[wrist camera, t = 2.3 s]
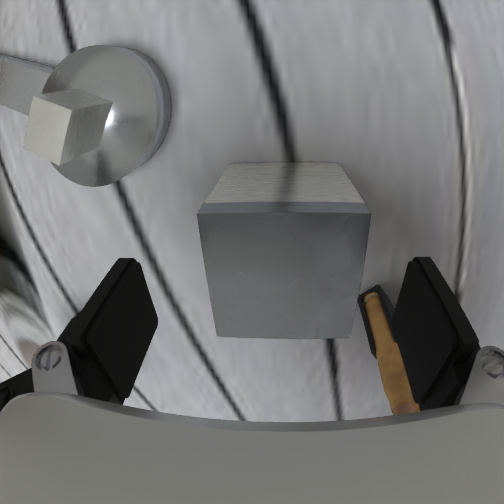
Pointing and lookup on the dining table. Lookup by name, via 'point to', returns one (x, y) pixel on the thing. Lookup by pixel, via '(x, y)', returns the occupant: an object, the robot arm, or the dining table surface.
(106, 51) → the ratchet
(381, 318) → the ammunition clip
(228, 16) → the dining table surface
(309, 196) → the brushed metal block
